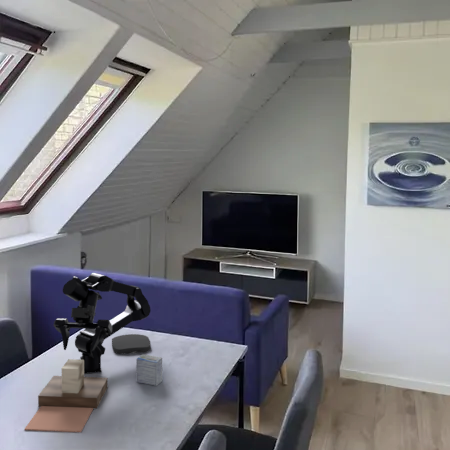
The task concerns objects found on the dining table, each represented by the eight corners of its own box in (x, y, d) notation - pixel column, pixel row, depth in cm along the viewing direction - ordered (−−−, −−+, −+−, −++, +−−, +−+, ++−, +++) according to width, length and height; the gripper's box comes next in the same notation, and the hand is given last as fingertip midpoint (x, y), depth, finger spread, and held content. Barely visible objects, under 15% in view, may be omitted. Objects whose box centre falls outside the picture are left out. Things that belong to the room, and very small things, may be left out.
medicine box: (162, 381, 181) (162, 357, 180) (156, 386, 177) (157, 362, 175) (142, 377, 183) (142, 353, 182) (135, 382, 179) (136, 358, 178)
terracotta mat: (41, 407, 161) (41, 406, 161) (93, 409, 160) (93, 408, 160) (24, 430, 148) (24, 428, 148) (81, 432, 148) (81, 430, 148)
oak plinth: (53, 385, 175) (53, 375, 174) (107, 387, 175) (107, 377, 174) (38, 406, 161) (38, 395, 160) (96, 408, 161) (96, 397, 160)
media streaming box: (110, 342, 215) (110, 335, 215) (146, 339, 220) (146, 332, 219) (114, 355, 201) (114, 348, 201) (152, 352, 206) (152, 345, 205)
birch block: (68, 382, 170) (68, 359, 169) (84, 383, 170) (84, 359, 169) (61, 392, 163) (61, 368, 162) (77, 393, 163) (77, 368, 162)
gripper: (53, 295, 176) (42, 340, 167) (108, 297, 175) (100, 341, 166) (63, 310, 185) (53, 352, 176) (115, 311, 184) (108, 354, 175)
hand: (78, 350), depth 173 cm, fingers open, 9 cm apart
